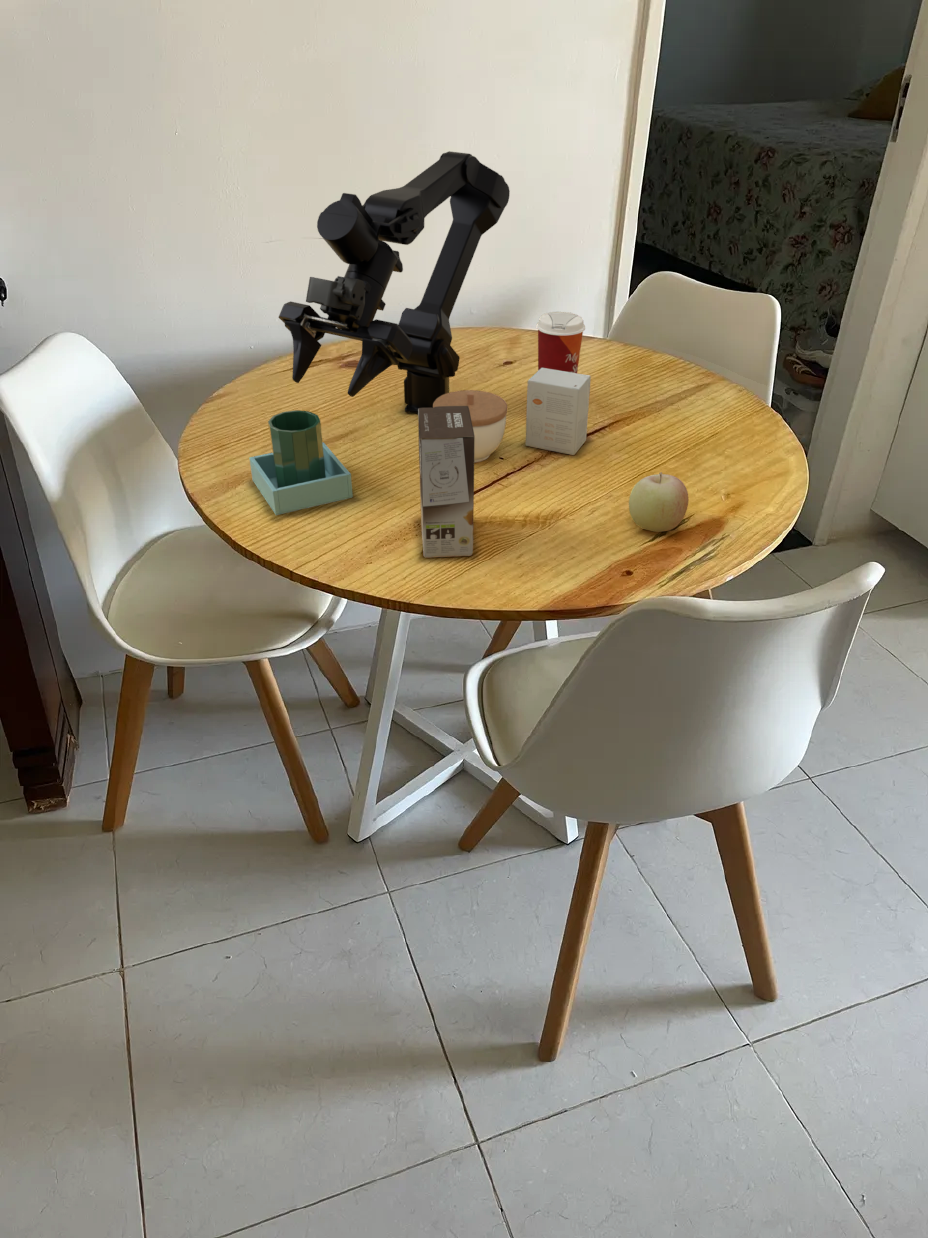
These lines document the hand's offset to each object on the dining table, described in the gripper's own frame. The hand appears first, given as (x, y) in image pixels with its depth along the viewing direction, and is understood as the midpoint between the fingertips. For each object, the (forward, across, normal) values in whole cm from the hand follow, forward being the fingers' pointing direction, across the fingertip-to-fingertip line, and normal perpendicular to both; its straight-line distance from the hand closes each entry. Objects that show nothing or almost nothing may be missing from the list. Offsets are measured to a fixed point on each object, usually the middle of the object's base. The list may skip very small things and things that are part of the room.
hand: (322, 388), depth 124 cm
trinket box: (-2, +14, +20) cm, 25 cm away
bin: (+14, 0, +4) cm, 14 cm away
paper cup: (-18, +17, +36) cm, 44 cm away
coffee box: (+14, +24, +4) cm, 28 cm away
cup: (+13, 0, +4) cm, 14 cm away
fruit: (+2, +45, +16) cm, 48 cm away
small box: (-9, +24, +27) cm, 37 cm away
